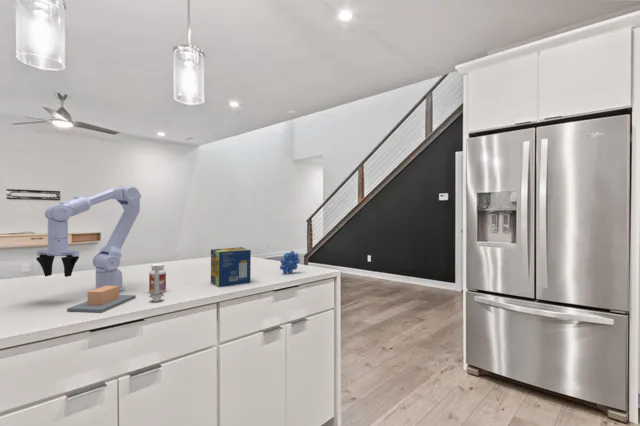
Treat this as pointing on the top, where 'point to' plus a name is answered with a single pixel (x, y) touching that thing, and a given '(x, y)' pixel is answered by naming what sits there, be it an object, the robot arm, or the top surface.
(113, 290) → the tan rectangular block
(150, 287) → the pill bottle
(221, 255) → the protein box
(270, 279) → the top surface
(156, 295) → the white flanged spindle
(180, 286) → the top surface
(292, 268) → the grapes
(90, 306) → the rubber mat
